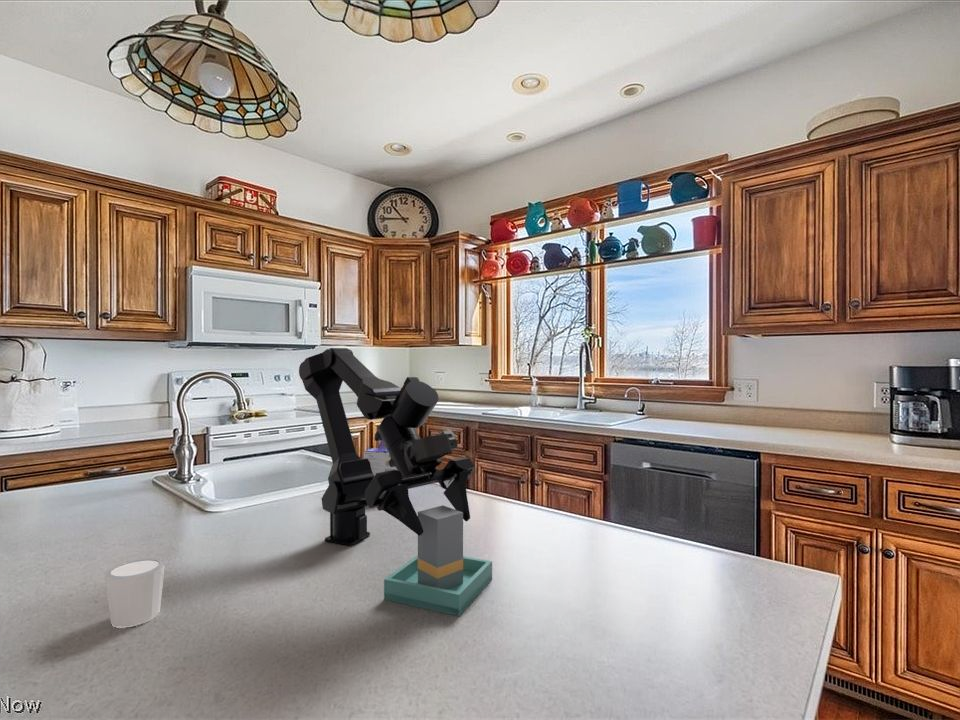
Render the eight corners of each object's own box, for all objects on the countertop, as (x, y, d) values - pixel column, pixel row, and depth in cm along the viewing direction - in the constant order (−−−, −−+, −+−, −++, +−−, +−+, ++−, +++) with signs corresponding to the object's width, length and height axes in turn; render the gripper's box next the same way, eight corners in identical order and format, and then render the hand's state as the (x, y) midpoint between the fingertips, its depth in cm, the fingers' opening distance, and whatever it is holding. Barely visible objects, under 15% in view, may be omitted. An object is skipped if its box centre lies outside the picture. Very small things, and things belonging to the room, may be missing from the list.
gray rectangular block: (417, 582, 78) (417, 511, 78) (443, 572, 81) (442, 505, 81) (437, 593, 74) (437, 519, 74) (463, 583, 77) (463, 512, 77)
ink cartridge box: (406, 494, 131) (406, 439, 130) (399, 500, 125) (399, 443, 125) (371, 492, 133) (371, 438, 132) (362, 498, 127) (362, 442, 127)
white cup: (125, 606, 72) (124, 558, 72) (174, 604, 73) (174, 556, 73) (92, 632, 65) (92, 579, 65) (147, 630, 66) (147, 577, 66)
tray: (384, 599, 74) (384, 579, 74) (425, 567, 86) (425, 549, 86) (459, 616, 69) (459, 594, 69) (492, 579, 81) (492, 561, 81)
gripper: (374, 419, 74) (418, 510, 66) (468, 410, 87) (514, 485, 79) (348, 464, 80) (385, 553, 72) (439, 449, 92) (480, 523, 84)
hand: (445, 526), depth 76 cm, fingers open, 9 cm apart
